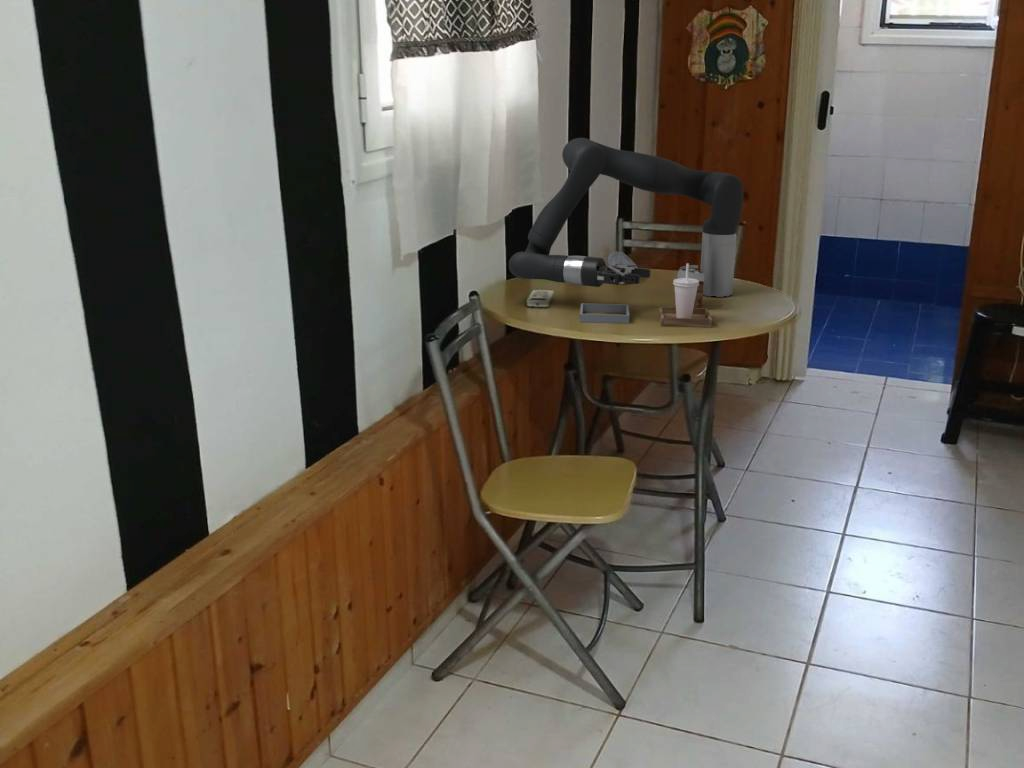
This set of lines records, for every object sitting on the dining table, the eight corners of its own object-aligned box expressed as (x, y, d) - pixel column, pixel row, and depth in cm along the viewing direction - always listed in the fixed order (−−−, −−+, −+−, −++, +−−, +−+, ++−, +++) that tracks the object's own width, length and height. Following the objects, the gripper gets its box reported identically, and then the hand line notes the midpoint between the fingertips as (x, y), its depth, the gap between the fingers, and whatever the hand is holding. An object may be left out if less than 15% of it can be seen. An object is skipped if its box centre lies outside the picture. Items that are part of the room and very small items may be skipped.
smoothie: (673, 321, 258) (676, 265, 254) (669, 315, 264) (672, 260, 260) (699, 321, 258) (702, 265, 254) (694, 315, 264) (698, 260, 260)
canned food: (628, 294, 314) (645, 264, 312) (631, 297, 304) (648, 267, 302) (595, 275, 313) (612, 246, 311) (597, 279, 303) (614, 248, 301)
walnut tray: (658, 314, 268) (659, 307, 267) (706, 315, 267) (707, 308, 266) (661, 326, 256) (661, 318, 255) (711, 327, 255) (712, 319, 254)
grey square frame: (580, 310, 271) (580, 303, 270) (627, 312, 270) (628, 304, 269) (579, 322, 259) (579, 314, 259) (629, 323, 258) (629, 315, 258)
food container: (673, 300, 283) (674, 264, 280) (695, 301, 283) (698, 264, 280) (678, 311, 271) (680, 273, 269) (702, 311, 271) (704, 273, 268)
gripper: (574, 260, 261) (636, 266, 255) (594, 252, 274) (654, 257, 267) (573, 290, 264) (635, 296, 257) (593, 280, 276) (652, 286, 270)
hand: (644, 276), depth 262 cm, fingers open, 8 cm apart
